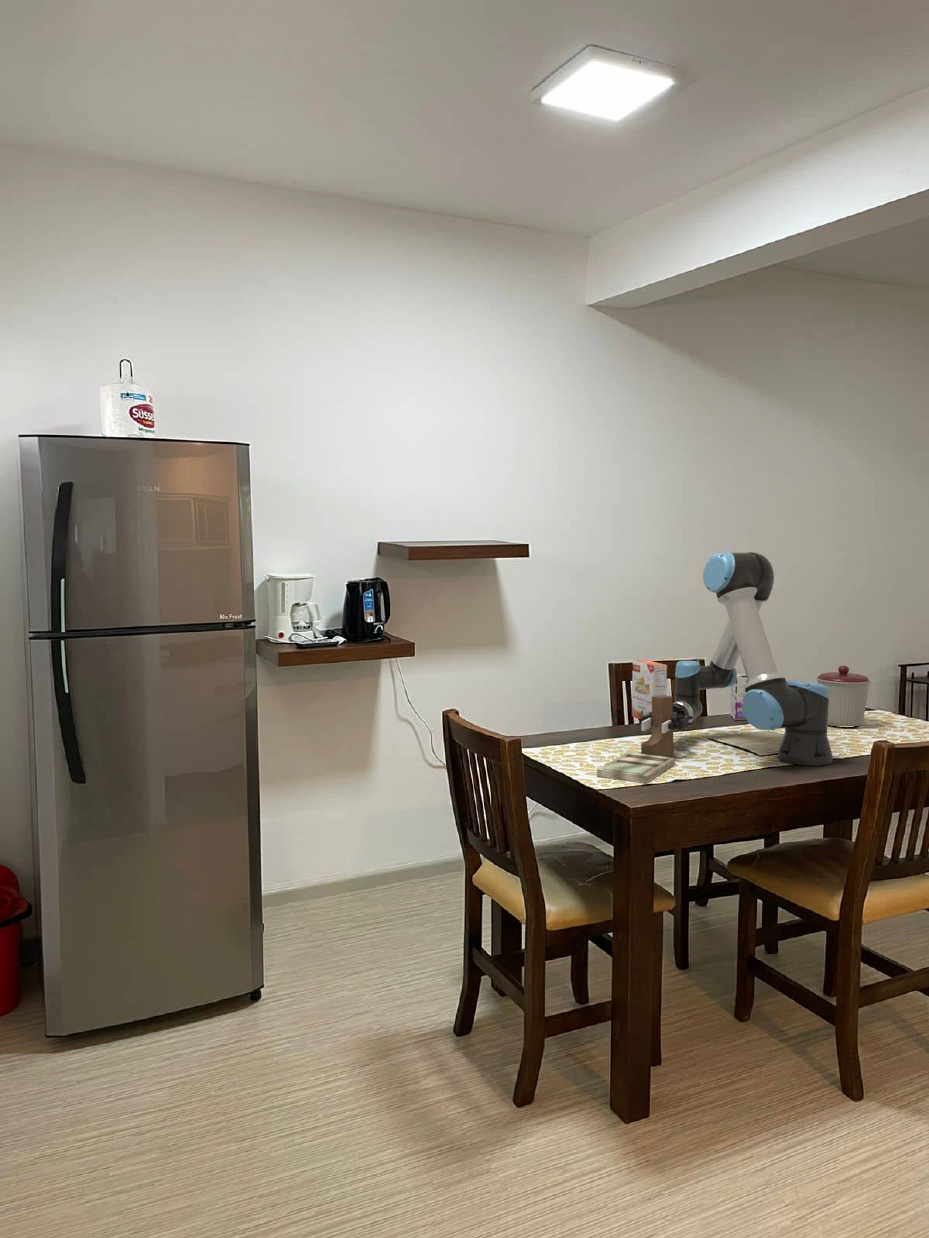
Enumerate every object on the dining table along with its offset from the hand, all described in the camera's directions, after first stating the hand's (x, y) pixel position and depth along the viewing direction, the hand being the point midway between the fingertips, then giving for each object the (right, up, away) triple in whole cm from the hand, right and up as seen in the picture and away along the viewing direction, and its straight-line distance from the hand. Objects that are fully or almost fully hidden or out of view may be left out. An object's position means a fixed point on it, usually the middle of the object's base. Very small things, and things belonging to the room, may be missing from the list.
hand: (652, 727), depth 274 cm
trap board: (-6, -11, -10) cm, 16 cm away
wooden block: (+3, -10, +5) cm, 11 cm away
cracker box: (+11, -5, +64) cm, 65 cm away
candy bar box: (+47, -5, +66) cm, 81 cm away
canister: (+77, -6, +56) cm, 95 cm away
